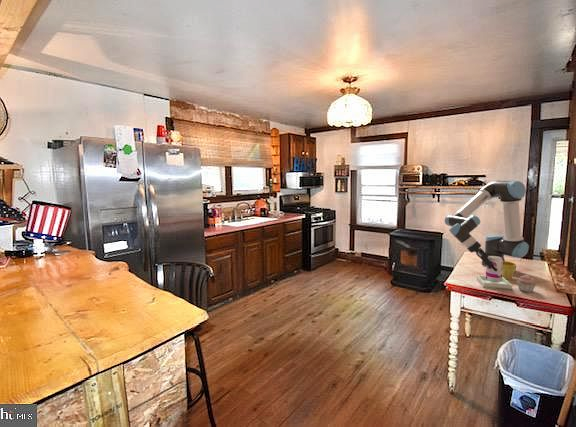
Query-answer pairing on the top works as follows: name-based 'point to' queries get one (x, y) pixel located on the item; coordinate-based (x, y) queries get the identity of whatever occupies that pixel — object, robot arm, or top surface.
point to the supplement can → (490, 273)
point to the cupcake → (526, 283)
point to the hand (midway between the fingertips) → (500, 272)
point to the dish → (494, 283)
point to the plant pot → (508, 269)
